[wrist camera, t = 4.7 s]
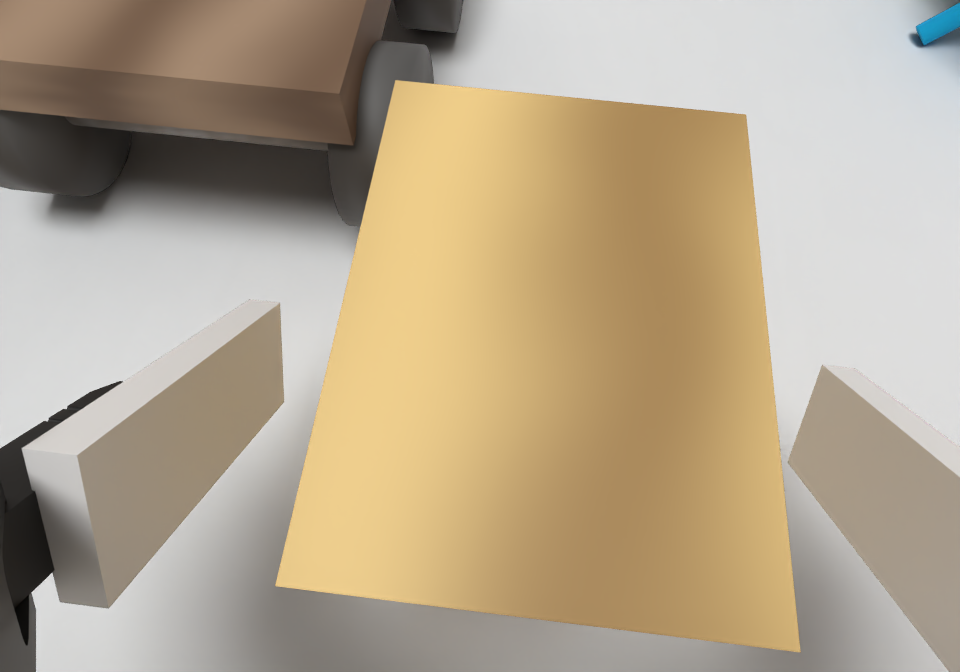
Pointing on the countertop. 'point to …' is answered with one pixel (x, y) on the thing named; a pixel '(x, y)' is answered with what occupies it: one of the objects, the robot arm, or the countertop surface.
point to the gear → (939, 24)
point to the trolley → (202, 82)
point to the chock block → (553, 375)
